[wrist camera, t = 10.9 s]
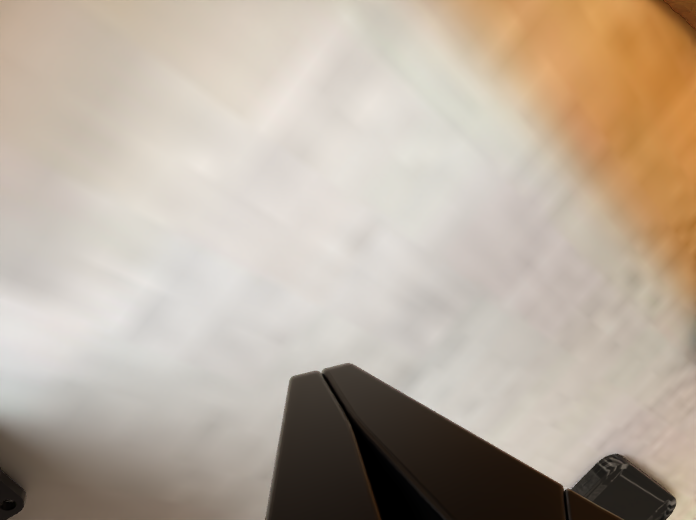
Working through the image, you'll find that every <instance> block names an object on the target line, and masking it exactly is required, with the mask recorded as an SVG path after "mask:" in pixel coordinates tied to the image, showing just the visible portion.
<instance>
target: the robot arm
mask: <svg viewBox="0 0 696 520" xmlns="http://www.w3.org/2000/svg"><path fill="white" fill-rule="evenodd" d="M7 499H8V500H13V502H6V501H4V500H7ZM25 500H26V492H25V491H24V489H23V488H21V487H20V486H19V485H18V484H17V483H16V482H14V481H13V480H12V479H11V478H10V477H8V476H7V475H6V474H5V473H4V472H3V471H1V468H0V520H7V519H8V518H10V517H12V516H13V515H15V514H17V513H18V512H20V511H21V510H22V509H23V507H24V504H25ZM265 520H624V519H622V518H620V517H618V516H616V515H614V514H613V513H611V512H609V511H607V510H605V509H604V508H602V507H600V506H598V505H596V504H595V503H593V502H591V501H589V500H588V499H586V498H584V497H583V496H581V495H579V494H577V493H576V492H574V491H572V490H570V489H566V490H565V491H564V489H563V486H562V485H561V484H560V483H558V482H556V481H554V480H553V479H551V478H549V477H547V476H546V475H544V474H542V473H540V472H539V471H537V470H535V469H534V468H532V467H530V466H528V465H527V464H525V463H523V462H521V461H520V460H518V459H516V458H514V457H513V456H511V455H509V454H508V453H506V452H504V451H502V450H501V449H499V448H497V447H495V446H494V445H492V444H490V443H488V442H487V441H485V440H483V439H482V438H480V437H478V436H476V435H475V434H473V433H471V432H469V431H468V430H466V429H464V428H462V427H461V426H459V425H457V424H456V423H454V422H452V421H450V420H449V419H447V418H445V417H443V416H442V415H440V414H438V413H436V412H435V411H433V410H431V409H430V408H428V407H426V406H424V405H423V404H421V403H419V402H417V401H416V400H414V399H412V398H410V397H409V396H407V395H405V394H404V393H402V392H400V391H398V390H397V389H395V388H393V387H391V386H390V385H388V384H386V383H384V382H383V381H381V380H379V379H378V378H376V377H374V376H372V375H371V374H369V373H367V372H365V371H364V370H362V369H360V368H358V367H357V366H355V365H353V364H350V363H345V364H341V365H337V366H333V367H329V368H325V369H324V370H323V371H322V373H320V372H319V371H312V372H308V373H304V374H300V375H295V376H293V377H291V379H290V381H289V386H288V392H287V397H286V403H285V409H284V415H283V420H282V426H281V432H280V437H279V443H278V449H277V455H276V460H275V466H274V472H273V478H272V483H271V489H270V495H269V500H268V506H267V512H266V518H265Z"/></svg>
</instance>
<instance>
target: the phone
mask: <svg viewBox="0 0 696 520" xmlns="http://www.w3.org/2000/svg"><path fill="white" fill-rule="evenodd" d="M571 490H572V491H574V492H576V493H577V494H579V495H581V496H583V497H584V498H586V499H588V500H589V501H591V502H593V503H595V504H596V505H598V506H600V507H602V508H604V509H605V510H607V511H609V512H611V513H613V514H614V515H616V516H618V517H620V518H622V519H624V520H666V519H667V518H668V517H669V516H670V515H671V513H672V512H673V510H674V509H675V506H676V499H675V498H674V497H673V496H672V495H671V494H670V493H669V492H668V491H667V490H666V489H665V488H664V487H662V486H661V485H660V484H658V483H657V482H656V481H654V480H653V479H652V478H650V477H649V476H648V475H646V474H645V473H644V472H642V471H641V470H640V469H638V468H637V467H636V466H634V465H633V464H632V463H630V462H629V461H628V460H626V459H625V458H624V457H623V456H621V455H618V454H612V455H609V456H607V457H605V458H603V459H601V460H600V461H599V462H598V463H597V464H596V465H595V466H594V467H593V468H592V469H591V470H590V471H589V472H588V473H587V474H586V475H585V476H584V477H583V478H582V479H581V480H580V481H579V482H578V483H577V484H576V485H575V486H574V487H573V488H572V489H571Z"/></svg>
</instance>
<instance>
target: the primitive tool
mask: <svg viewBox="0 0 696 520" xmlns="http://www.w3.org/2000/svg"><path fill="white" fill-rule="evenodd" d="M664 1H665V2H666V3H668V4H669V5H670V6H671V8H672V9H673V11H675V12H677V13H679V14H680V15H681V16H683V17H684V18H685V19H686V20H687V22H688V23H689V24H690V25H691V26H692V27H693V28H695V29H696V0H664Z"/></svg>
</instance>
